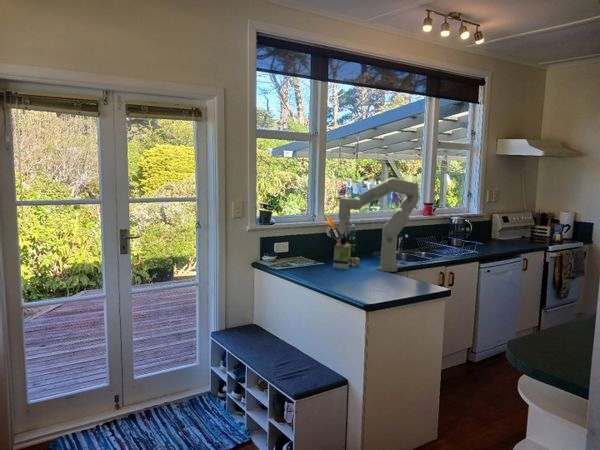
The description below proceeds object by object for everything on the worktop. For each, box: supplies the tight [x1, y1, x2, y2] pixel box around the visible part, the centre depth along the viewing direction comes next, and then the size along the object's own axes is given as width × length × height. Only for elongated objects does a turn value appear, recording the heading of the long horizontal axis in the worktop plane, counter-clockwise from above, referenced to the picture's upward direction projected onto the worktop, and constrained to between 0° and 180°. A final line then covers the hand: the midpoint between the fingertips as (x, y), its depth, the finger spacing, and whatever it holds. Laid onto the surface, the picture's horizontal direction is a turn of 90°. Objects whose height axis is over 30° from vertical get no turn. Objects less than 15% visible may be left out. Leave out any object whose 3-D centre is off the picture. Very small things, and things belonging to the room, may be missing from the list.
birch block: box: [349, 256, 360, 267], centre depth 306 cm, size 5×5×5 cm
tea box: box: [332, 242, 352, 270], centre depth 300 cm, size 15×10×15 cm, turn 168°
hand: (343, 244), depth 299 cm, fingers closed
